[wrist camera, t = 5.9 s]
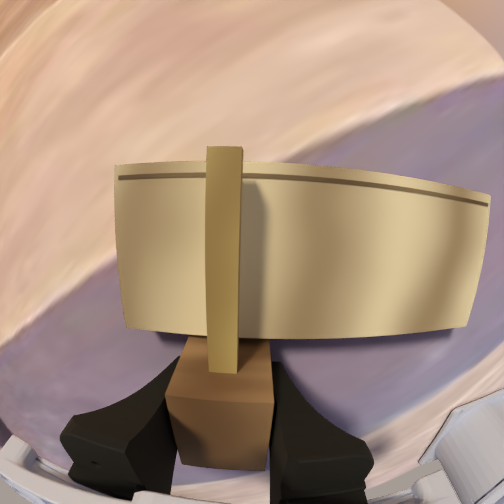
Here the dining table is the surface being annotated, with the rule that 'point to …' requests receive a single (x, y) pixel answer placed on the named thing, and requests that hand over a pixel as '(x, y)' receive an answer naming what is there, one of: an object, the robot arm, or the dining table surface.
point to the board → (302, 250)
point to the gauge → (222, 346)
